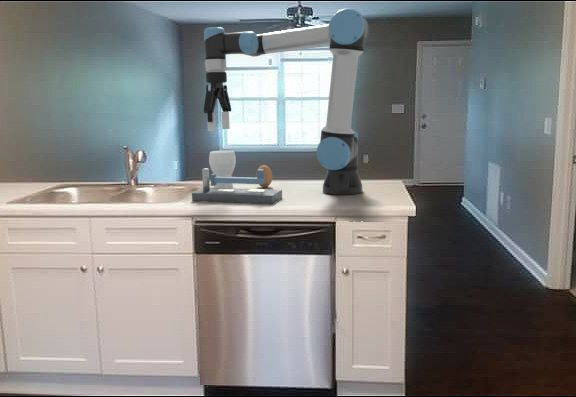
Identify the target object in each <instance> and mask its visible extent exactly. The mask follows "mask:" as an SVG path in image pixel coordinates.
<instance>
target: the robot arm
mask: <svg viewBox="0 0 576 397" xmlns="http://www.w3.org/2000/svg"><path fill="white" fill-rule="evenodd" d="M203 34H204V35H203V39H204V40H203V44H204V45H203V46H204V59H205V62H204V66H205V71H206V73H205V78H206V81H205V82H206V83H207V84H206V90H205V99H204V104H203V113H204V114H206V118H207V119H206V120H207V122H206V123H207V124H206V125H207V132H216V116H215V115H216V113H214V111H215V108H216V104H217V101H218V102H219V106H220V107H221V110H222V111H221V127H222V128H221V129H222V130H230V128H231V127H230V112H232V106H231V102H230V97H229V94H228V87H227V86H228V85H226V84H224V83H227V82H228V77H227V72H226V71H227V58H226V57H227V56H226V55H246V56H250V57H260V56H261V55H262V56H263V55H270V54H276V53H284V52H285V53H286V52H292V51H299V50H300V51H301V50H306V49H315V48H322V47H329V50H328V51H330V53H331V54H332V62H331V75H330V82H329V83H330V85H329V93H328V94H329V95H328V105H327V113H326V123H325V126H324V127H322V128H321V132H320V142H319V143H318V146H317V148H316V158H317V161H318V162H319V164H320V165H321V166H322V167H323V168H325V169H326V173H325V174H326V175H325V178H324V180H323V184H322V192H323V193H325V194H329V195H337V196H338V195H339V196H340V195H341V196H344V195H356V194H361V193H362V192H363V183H362V181H361V178H360V174H359V135H358V134H359V133H358V132H357V131H354V130H353V129H352V119H353V118H352V117H353V109H354V108H353V107H354V99H355V89H356V81H357V72H358V71H357V70H358V62H359V58H360V56H361V55H362V54H363V53H364V50H365V49H364V48H365V43H366V41H367V39H368V37H369V34H370V24H369V22H368V20H367V18H366V17H364V16H363V15H362V13H361V12H360V11H358V10H356V9H352V8H342V9H339V10H338V11H337V12H335V13H334V14H333V15H332V16H331V18H330V20H329V23H328V24H323V25H316V26H308V27H301V28H293V29H287V30H281V31H280V30H279V31H273V32H267V33H266V32H265V33H259V34H256V32H254V31H246V30H245V31H237V32H225V28H223V27H221V26H220V27H219V26H218V27H216V26H215V27H214V26H213V27H212V26H211V27H207V28H205V29H204V31H203Z"/></svg>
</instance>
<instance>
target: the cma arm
mask: <svg viewBox="0 0 576 397" xmlns="http://www.w3.org/2000/svg"><path fill="white" fill-rule="evenodd" d="M256 173H257V178H256V177H246V176H245V177H243V176H241V177H239V176H238V177H237V176H232V177H216V174H214V173H212V174H210V186H211V187H214V186H215V185H217V183H232V184H233V185H234V184H239V185H259V184H264V169H259V168H257V169H256Z"/></svg>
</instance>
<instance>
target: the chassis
mask: <svg viewBox="0 0 576 397" xmlns="http://www.w3.org/2000/svg"><path fill="white" fill-rule="evenodd" d="M201 174H202V175H201V176H202V188H200V189H199V190H196V191H193V192H191V200H192V202H198V201H208V202H207V203H226V204H228V203H229V204H250V205H251V204H256V205H257V204H258V205H259V204H260V205H273V203H274V204H275V203H277V202H279V199H280V200H282V199H283V190H282V189H266V188H265V189H262V188H236V187H235V188H234V187H233V188H214V187H210V186H211V183H210V169H209V168H207V167H205V168H202V169H201ZM281 198H282V199H281ZM276 201H277V202H276Z"/></svg>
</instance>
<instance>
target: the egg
mask: <svg viewBox="0 0 576 397" xmlns="http://www.w3.org/2000/svg"><path fill="white" fill-rule="evenodd" d="M258 169H264V184H258V185H259V186H260V187H262V188H267V187H269V186H270V185H271V183H272V181H273V172H272V170H271V168H270V167H269V166H268V165H266V164H262V165H259V167H258ZM255 178H257V172H256V175H255Z"/></svg>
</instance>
